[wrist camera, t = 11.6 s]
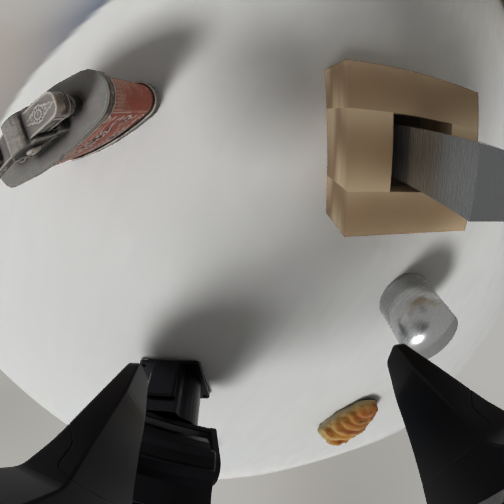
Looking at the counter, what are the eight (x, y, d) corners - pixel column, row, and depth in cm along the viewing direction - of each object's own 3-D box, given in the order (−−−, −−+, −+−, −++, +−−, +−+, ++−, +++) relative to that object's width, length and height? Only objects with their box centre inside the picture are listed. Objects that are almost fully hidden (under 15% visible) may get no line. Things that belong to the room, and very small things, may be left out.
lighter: (150, 72, 14) (61, 42, 5) (167, 114, 16) (88, 120, 7) (60, 130, 15) (-42, 160, 6) (76, 168, 17) (-20, 220, 8)
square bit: (409, 168, 17) (507, 221, 8) (372, 166, 17) (468, 221, 8) (412, 126, 16) (518, 155, 7) (374, 121, 16) (479, 143, 7)
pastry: (352, 393, 31) (359, 417, 27) (385, 396, 32) (393, 417, 29) (313, 426, 35) (317, 447, 31) (346, 427, 36) (351, 446, 33)
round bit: (417, 313, 24) (444, 354, 19) (374, 321, 24) (398, 367, 19) (431, 270, 22) (465, 309, 17) (385, 275, 22) (417, 320, 17)
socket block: (436, 210, 19) (464, 230, 16) (326, 212, 19) (344, 236, 16) (444, 91, 14) (477, 92, 11) (324, 69, 14) (346, 59, 11)
